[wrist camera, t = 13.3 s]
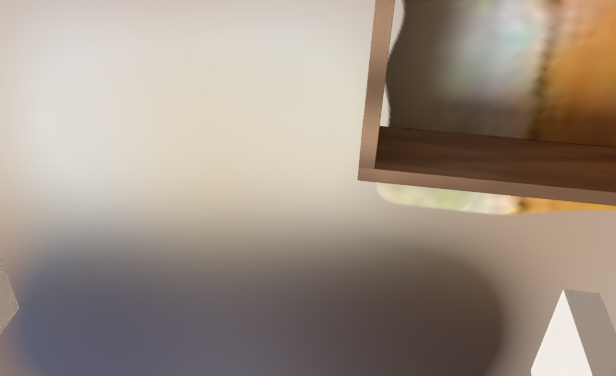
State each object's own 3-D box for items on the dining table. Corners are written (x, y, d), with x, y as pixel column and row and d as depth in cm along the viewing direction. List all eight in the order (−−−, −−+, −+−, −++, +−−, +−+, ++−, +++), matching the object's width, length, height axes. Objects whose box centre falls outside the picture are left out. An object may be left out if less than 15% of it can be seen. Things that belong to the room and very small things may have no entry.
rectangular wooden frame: (382, -63, 36) (380, -40, 31) (759, -38, 34) (821, -9, 29) (361, 136, 44) (357, 180, 39) (666, 164, 42) (702, 214, 37)
